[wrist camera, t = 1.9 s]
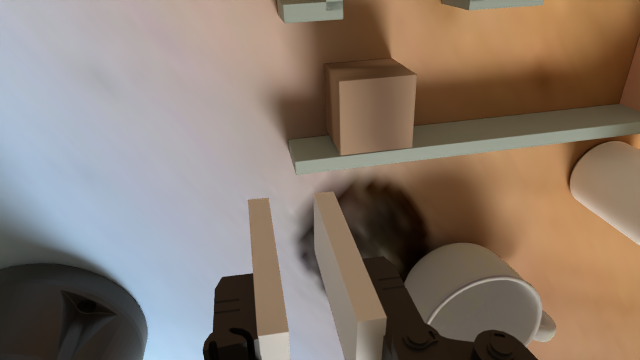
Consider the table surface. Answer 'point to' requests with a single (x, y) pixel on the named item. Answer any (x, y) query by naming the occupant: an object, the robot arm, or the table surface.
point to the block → (369, 105)
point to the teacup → (476, 295)
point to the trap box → (471, 135)
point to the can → (610, 185)
